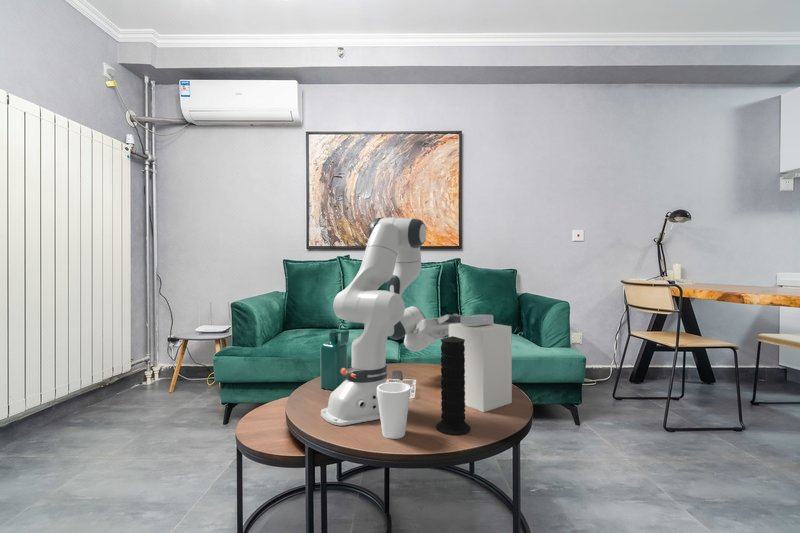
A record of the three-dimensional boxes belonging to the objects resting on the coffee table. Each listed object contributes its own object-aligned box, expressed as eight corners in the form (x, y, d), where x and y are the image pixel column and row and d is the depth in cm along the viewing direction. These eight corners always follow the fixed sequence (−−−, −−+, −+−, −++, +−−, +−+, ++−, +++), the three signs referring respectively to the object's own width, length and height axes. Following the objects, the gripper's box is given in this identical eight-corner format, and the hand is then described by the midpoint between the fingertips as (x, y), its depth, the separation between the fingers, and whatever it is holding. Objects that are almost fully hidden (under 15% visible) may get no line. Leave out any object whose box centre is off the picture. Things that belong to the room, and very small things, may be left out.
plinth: (483, 412, 125) (483, 330, 125) (448, 398, 138) (448, 324, 138) (511, 402, 134) (511, 326, 133) (476, 390, 146) (476, 321, 146)
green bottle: (318, 388, 151) (317, 330, 151) (331, 382, 158) (331, 327, 158) (339, 391, 146) (338, 332, 146) (352, 385, 154) (351, 329, 154)
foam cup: (379, 442, 104) (379, 393, 104) (374, 428, 113) (374, 383, 113) (414, 439, 106) (414, 391, 106) (406, 425, 115) (406, 381, 115)
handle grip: (429, 424, 116) (446, 438, 107) (429, 334, 116) (446, 340, 107) (458, 418, 120) (477, 431, 111) (458, 332, 120) (477, 337, 111)
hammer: (473, 326, 131) (473, 317, 131) (434, 323, 147) (433, 315, 148) (493, 323, 137) (493, 314, 137) (453, 321, 153) (453, 313, 153)
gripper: (408, 325, 151) (428, 310, 142) (447, 320, 163) (468, 306, 154) (413, 340, 149) (434, 326, 139) (453, 334, 161) (474, 321, 151)
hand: (452, 315), depth 146 cm, fingers closed on hammer, 2 cm apart
